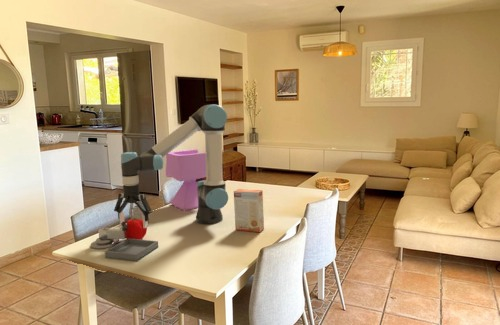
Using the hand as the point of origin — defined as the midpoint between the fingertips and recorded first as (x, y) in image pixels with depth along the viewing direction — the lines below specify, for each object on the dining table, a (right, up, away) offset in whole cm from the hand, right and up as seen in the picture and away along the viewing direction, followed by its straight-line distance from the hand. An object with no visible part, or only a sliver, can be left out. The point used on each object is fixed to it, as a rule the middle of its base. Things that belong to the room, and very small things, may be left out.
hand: (133, 226), depth 186 cm
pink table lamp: (+19, +3, +63) cm, 66 cm away
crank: (-8, -5, -5) cm, 11 cm away
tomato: (+1, -7, +1) cm, 7 cm away
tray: (+4, -9, -16) cm, 19 cm away
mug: (-7, -3, +29) cm, 30 cm away
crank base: (-13, -8, -4) cm, 15 cm away
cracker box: (+57, -3, +9) cm, 58 cm away
